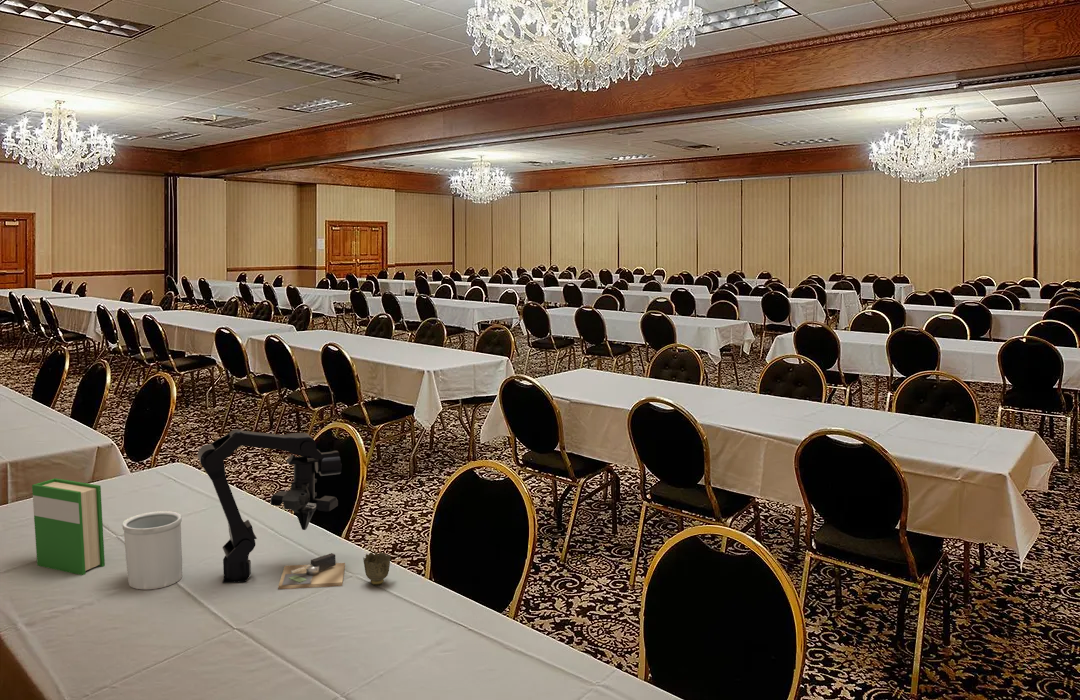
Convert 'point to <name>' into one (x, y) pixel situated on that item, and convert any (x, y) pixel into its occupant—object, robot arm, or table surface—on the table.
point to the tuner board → (311, 577)
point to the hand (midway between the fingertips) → (304, 529)
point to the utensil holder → (153, 549)
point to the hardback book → (68, 525)
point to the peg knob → (318, 564)
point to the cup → (377, 567)
